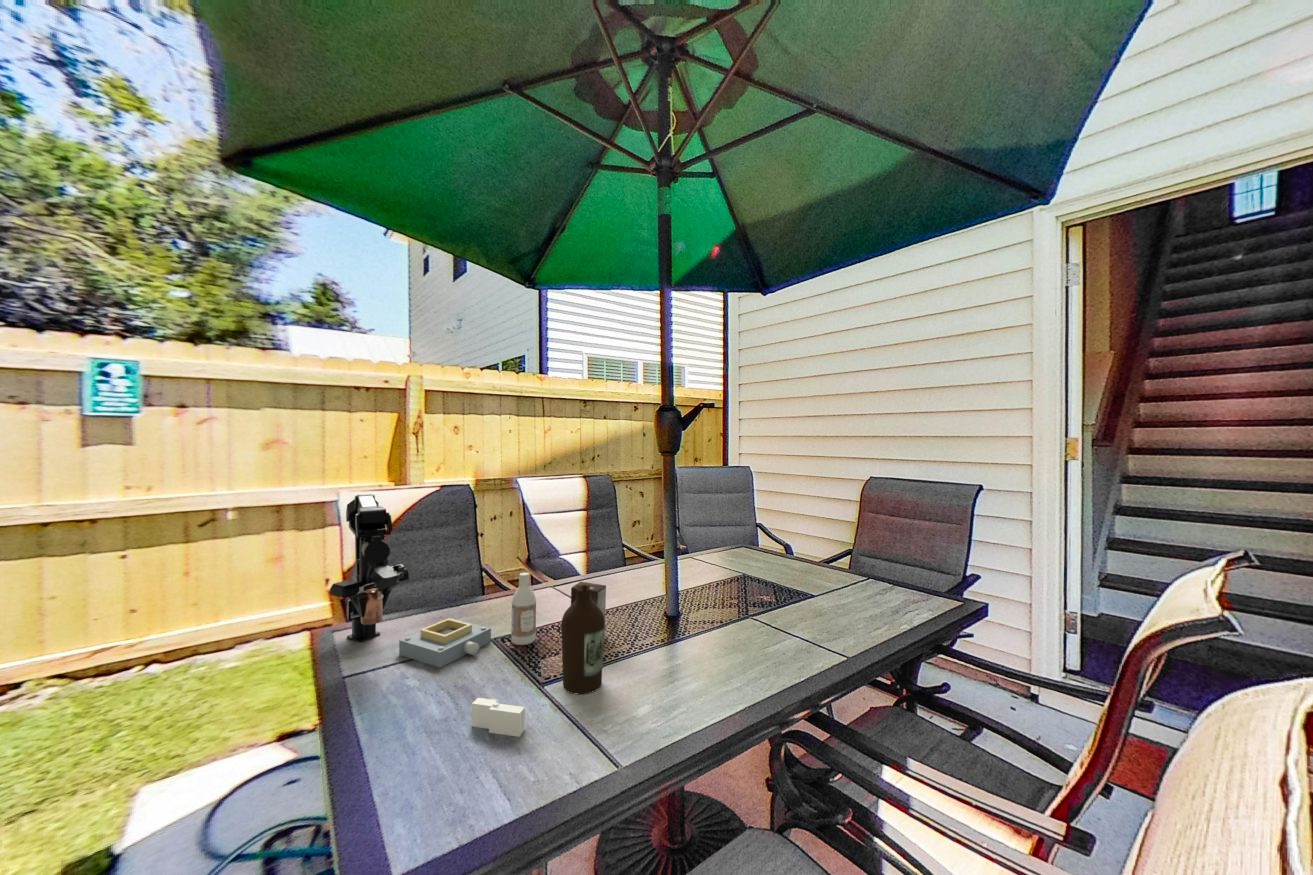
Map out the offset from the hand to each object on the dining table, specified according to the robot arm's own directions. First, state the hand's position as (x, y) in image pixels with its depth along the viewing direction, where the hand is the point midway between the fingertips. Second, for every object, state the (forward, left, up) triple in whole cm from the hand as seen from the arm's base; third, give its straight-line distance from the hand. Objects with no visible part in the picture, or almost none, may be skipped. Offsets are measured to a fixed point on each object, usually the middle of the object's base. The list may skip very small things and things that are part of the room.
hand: (371, 613), depth 133 cm
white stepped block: (+51, -6, -14) cm, 53 cm away
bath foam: (+27, +29, -13) cm, 42 cm away
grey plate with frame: (+12, +15, -13) cm, 23 cm away
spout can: (0, 0, -2) cm, 2 cm away
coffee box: (+43, +39, -13) cm, 60 cm away
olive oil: (+57, +16, -13) cm, 61 cm away
